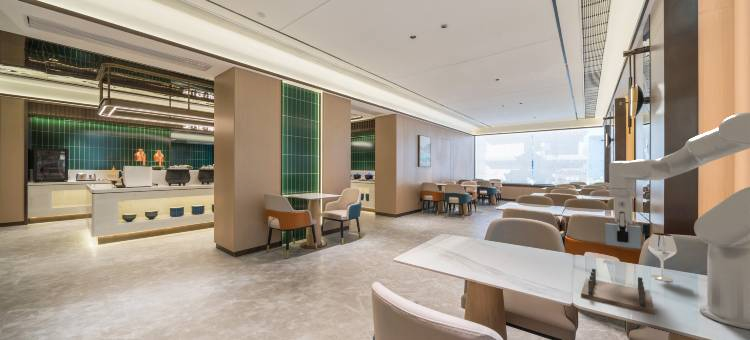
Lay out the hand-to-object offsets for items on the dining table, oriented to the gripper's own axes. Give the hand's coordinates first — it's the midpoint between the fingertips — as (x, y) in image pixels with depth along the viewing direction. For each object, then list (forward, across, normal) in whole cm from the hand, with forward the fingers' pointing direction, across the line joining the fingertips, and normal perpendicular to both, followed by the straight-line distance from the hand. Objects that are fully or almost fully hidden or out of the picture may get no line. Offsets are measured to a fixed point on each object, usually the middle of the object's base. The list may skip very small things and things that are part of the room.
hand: (622, 240), depth 107 cm
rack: (+17, -14, +2) cm, 22 cm away
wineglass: (+17, +21, -11) cm, 29 cm away
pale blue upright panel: (+2, 0, 0) cm, 2 cm away
